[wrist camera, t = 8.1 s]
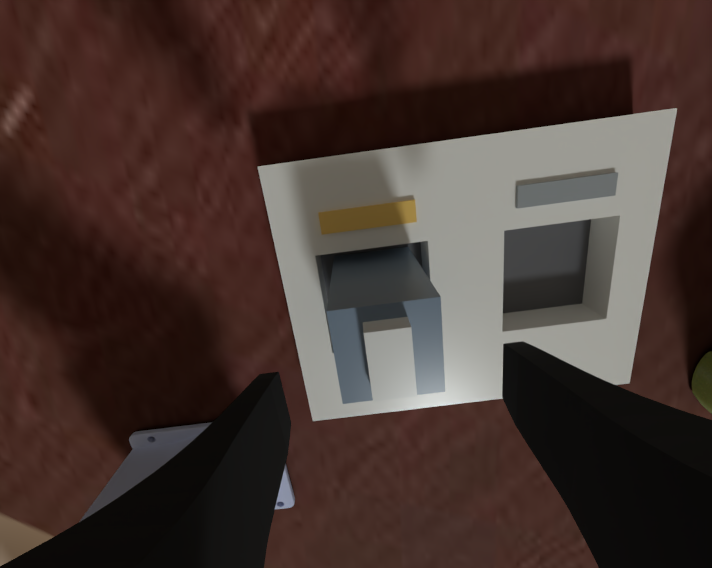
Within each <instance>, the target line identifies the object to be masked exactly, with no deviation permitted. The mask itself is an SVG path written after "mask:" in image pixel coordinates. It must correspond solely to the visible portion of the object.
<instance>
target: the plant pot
mask: <svg viewBox="0 0 712 568" xmlns="http://www.w3.org/2000/svg"><path fill="white" fill-rule="evenodd" d="M692 391H693V394H694V395H695V397H696V398H697V399H698V401H699V402H700V403H701V404H702V406H703V407H705V408H706V409H707V410H708V411H709V412H710V413H711V414H712V351H710V352H708V353H706V354H705V355H704V356H703V358H702V359H701V360H700V362H699V363H698V365H697V367H696V369H695V371H694V374H693V378H692Z"/></svg>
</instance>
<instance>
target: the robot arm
mask: <svg viewBox="0 0 712 568" xmlns="http://www.w3.org/2000/svg"><path fill="white" fill-rule="evenodd" d="M502 397H503V400H504V402H505V404H506V406H507V408H508V411H509V413H510V415H511V417H512V419H513V421H514V423H515V425H516V427H517V428H518V430H519V432H520V433H521V435H522V436H523V438H524V439H525V441H526V443H527V444H528V446H529V447H530V449H531V450H532V452H533V453H534V455H535V457H536V458H537V460H538V461H539V463H540V464H541V466H542V467H543V469H544V470H545V472H546V473H547V475H548V477H549V478H550V480H551V481H552V483H553V484H554V486H555V487H556V489H557V490H558V492H559V494H560V495H561V497H562V499H563V500H564V502H565V504H566V505H567V507H568V509H569V510H570V512H571V514H572V516H573V518H574V520H575V522H576V524H577V526H578V527H579V529H580V531H581V533H582V535H583V537H584V539H585V541H586V543H587V545H588V546H589V548H590V550H591V552H592V554H593V556H594V558H595V560H596V562H597V564H598V566H599V568H712V420H709V419H706V418H703V417H700V416H696V415H693V414H690V413H687V412H684V411H681V410H678V409H675V408H672V407H670V406H667V405H664V404H662V403H659V402H656V401H653V400H651V399H648V398H645V397H643V396H640V395H638V394H635V393H633V392H630V391H628V390H625V389H623V388H621V387H618V386H616V385H614V384H612V383H609V382H607V381H605V380H602V379H600V378H598V377H596V376H594V375H592V374H589V373H587V372H585V371H583V370H581V369H579V368H577V367H575V366H573V365H571V364H569V363H567V362H565V361H563V360H561V359H559V358H557V357H555V356H553V355H551V354H549V353H547V352H545V351H543V350H541V349H539V348H537V347H535V346H533V345H530V344H528V343H526V342H523V341H521V342H513V343H505V344H503V384H502ZM290 428H291V420H290V416H289V412H288V408H287V404H286V400H285V396H284V392H283V388H282V384H281V379H280V375H279V372H273V373H266V374H260V375H259V376H258V377H257V378H255V379H254V380H253V382H252V383H251V384H250V385H249V386H248V387H247V388H246V389H245V390H244V391H243V392H242V393H241V394H240V395H239V396H238V397H237V398H236V399H235V400H234V401H233V402H232V403H231V404H230V405H229V406H228V407H227V408H226V410H225V411H224V412H223V413H222V414H221V415H220V416H219V417H218V418H216V419H215V420H214V421H213V422H211V423H202V424H194V425H186V426H178V427H169V428H161V429H153V430H144V431H136V432H134V433H133V434H132V435H131V436H130V437H129V442H130V444H131V447H132V451H131V452H130V453H129V455H128V456H127V457H126V459H125V460H124V462H123V463H122V464H121V466H120V467H119V468H118V470H117V471H116V472H115V474H114V475H113V477H112V478H111V479H110V481H109V482H108V483H107V485H106V486H105V488H104V489H103V490H102V492H101V493H100V494H99V496H98V497H97V498H96V500H95V501H94V503H93V504H92V505H91V507H90V508H89V509H88V511H87V512H86V513H85V515H84V516H83V518H82V519H81V520H80V522H79V523H77V524H75V525H74V526H72V527H71V528H69V529H67V530H65V531H64V532H62V533H60V534H59V535H57V536H55V537H53V538H52V539H50V540H48V541H46V542H44V543H42V544H41V545H39V546H37V547H35V548H33V549H31V550H30V551H28V552H26V553H24V554H22V555H21V556H19V557H17V558H15V559H13V560H11V561H10V562H8V563H6V564H4V565H2V566H0V568H264V562H265V555H266V548H267V542H268V537H269V532H270V527H271V523H272V518H273V514H274V510H275V509H283V508H290V507H292V506H293V505H294V503H295V497H294V493H293V489H292V485H291V482H290V478H289V474H288V470H287V467H286V459H287V455H288V447H289V439H290ZM153 437H154V438H153Z"/></svg>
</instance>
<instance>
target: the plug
mask: <svg viewBox="0 0 712 568" xmlns="http://www.w3.org/2000/svg"><path fill="white" fill-rule="evenodd" d="M326 312H327V318H328V323H329V329H330V335H331V340H332V346H333V352H334V358H335V363H336V369H337V375H338V380H339V386H340V392H341V397H342V403H343V404H347V403H355V402H364V401H372V400H373V401H381V400H390V399H398V398H406V397H414V396H417V395H422V394H430V393H438V392H445V374H444V354H443V333H442V313H441V296H440V295H439V293H438V292H437V290H436V289H435V287H434V286H433V284H432V283H431V281H430V279H429V278H428V276H427V275H426V273H425V272H424V270H423V269H422V267H421V266H420V264H419V263H418V261H417V259H416V258H415V256H414V255H413V253H412V252H411V250H410V249H409V247H401V248H394V249H386V250H379V251H371V252H363V253H356V254H348V255H341V256H334V260H333V267H332V275H331V282H330V289H329V296H328V303H327V310H326Z"/></svg>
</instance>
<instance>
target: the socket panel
mask: <svg viewBox="0 0 712 568" xmlns="http://www.w3.org/2000/svg"><path fill="white" fill-rule="evenodd" d="M676 112H677V108H674V109H667V110H660V111H652V112H645V113H638V114H631V115H624V116H617V117H609V118H602V119H595V120H588V121H581V122H573V123H566V124H559V125H552V126H545V127H538V128H530V129H523V130H516V131H509V132H502V133H495V134H487V135H480V136H473V137H466V138H459V139H452V140H444V141H437V142H430V143H423V144H416V145H409V146H401V147H394V148H387V149H380V150H373V151H365V152H358V153H351V154H344V155H337V156H330V157H322V158H315V159H308V160H301V161H294V162H287V163H279V164H272V165H265V166H258V172H259V176H260V181H261V185H262V190H263V194H264V199H265V204H266V208H267V213H268V217H269V222H270V227H271V231H272V236H273V240H274V245H275V250H276V254H277V259H278V263H279V268H280V272H281V277H282V282H283V286H284V291H285V295H286V300H287V305H288V309H289V314H290V318H291V323H292V328H293V332H294V337H295V341H296V346H297V351H298V355H299V360H300V364H301V369H302V373H303V378H304V383H305V387H306V392H307V396H308V401H309V406H310V410H311V415H312V419H313V421H318V420H327V419H335V418H343V417H352V416H360V415H368V414H377V413H385V412H394V411H402V410H410V409H419V408H427V407H435V406H444V405H452V404H460V403H469V402H477V401H485V400H494V399H502V398H503V397H502V384H503V344H505V343H513V342H521V341H523V342H526V343H528V344H530V345H533V346H535V347H537V348H539V349H541V350H543V351H545V352H547V353H549V354H551V355H553V356H555V357H557V358H559V359H561V360H563V361H565V362H567V363H569V364H571V365H573V366H575V367H577V368H579V369H581V370H583V371H585V372H587V373H589V374H592V375H594V376H596V377H598V378H600V379H602V380H605V381H607V382H609V383H612V384H614V385H619V384H627V383H630V378H631V372H632V366H633V360H634V355H635V349H636V343H637V337H638V332H639V326H640V320H641V314H642V308H643V303H644V297H645V291H646V285H647V280H648V274H649V268H650V262H651V257H652V251H653V245H654V239H655V233H656V228H657V222H658V216H659V210H660V205H661V199H662V193H663V187H664V182H665V176H666V170H667V164H668V158H669V153H670V147H671V141H672V135H673V130H674V124H675V118H676ZM401 247H409V249H410V250H411V252H412V253H413V255H414V256H415V258H416V259H417V261H418V263H419V264H420V266H421V267H422V269H423V270H424V272H425V273H426V275H427V276H428V278H429V279H430V281H431V283H432V284H433V286H434V287H435V289H436V290H437V292H438V293H439V295H440V296H441V313H442V333H443V354H444V374H445V392H438V393H430V394H422V395H417V396H414V397H406V398H398V399H390V400H381V401H373V400H372V401H364V402H355V403H347V404H343V403H342V397H341V392H340V386H339V380H338V375H337V369H336V363H335V358H334V352H333V346H332V340H331V335H330V329H329V323H328V318H327V312H326V310H327V303H328V296H329V289H330V282H331V275H332V267H333V260H334V256H341V255H348V254H356V253H363V252H371V251H379V250H386V249H394V248H401Z"/></svg>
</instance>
